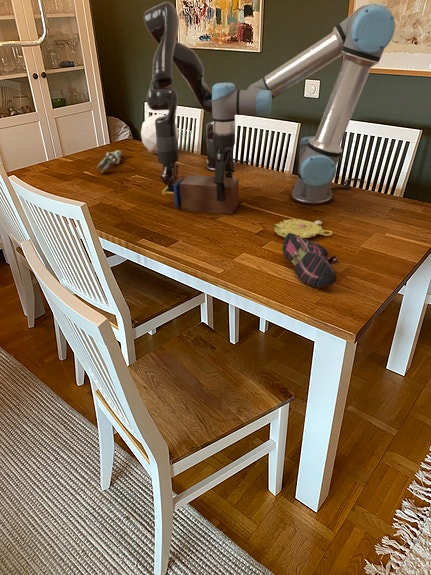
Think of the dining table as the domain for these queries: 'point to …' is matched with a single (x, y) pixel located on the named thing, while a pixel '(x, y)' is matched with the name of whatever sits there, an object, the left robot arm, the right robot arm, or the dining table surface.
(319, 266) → the athletic shoe
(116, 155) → the figurine
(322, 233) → the decorative object
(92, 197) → the dining table surface
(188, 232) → the dining table surface
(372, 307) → the dining table surface
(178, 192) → the drawer
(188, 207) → the cabinet
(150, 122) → the sphere
